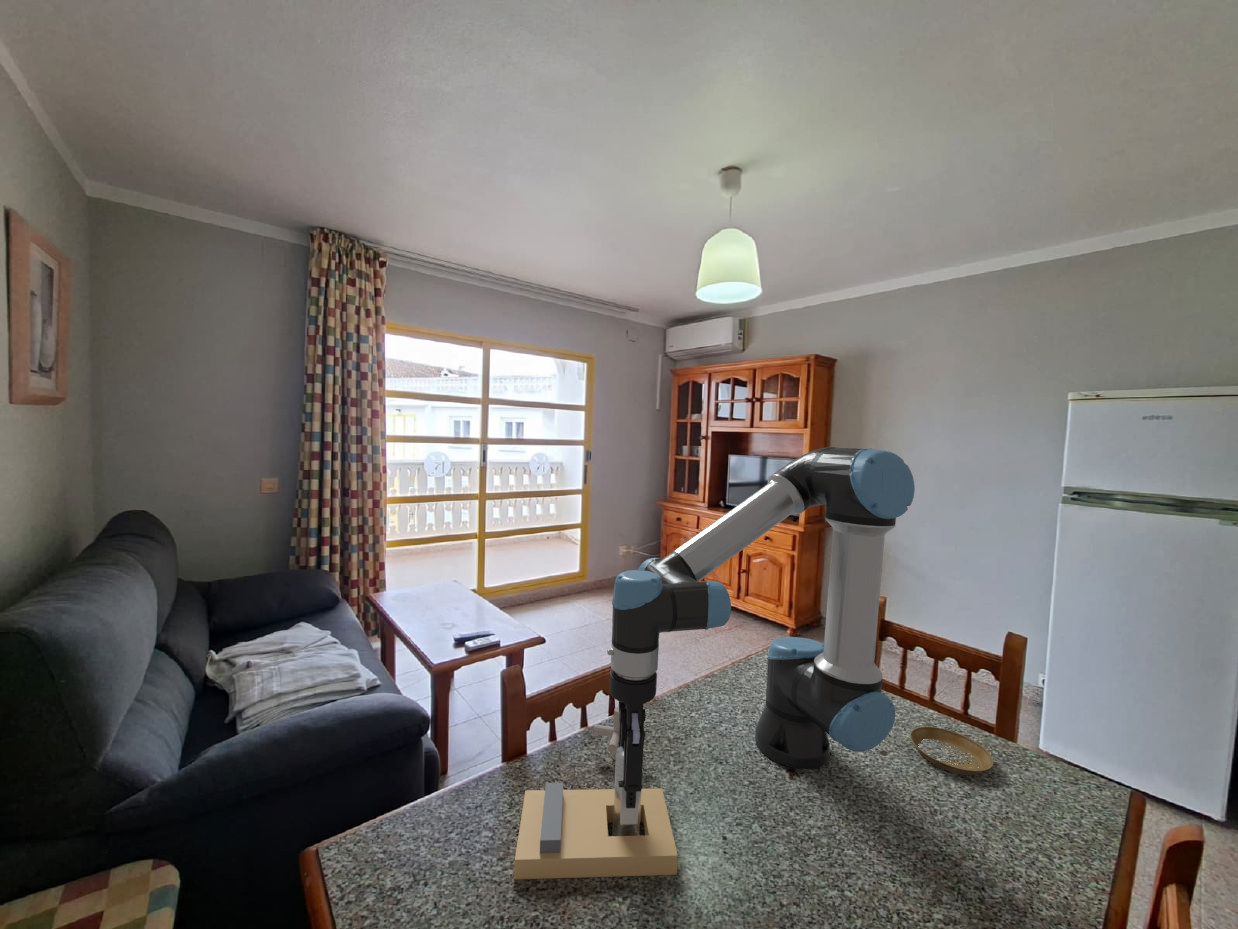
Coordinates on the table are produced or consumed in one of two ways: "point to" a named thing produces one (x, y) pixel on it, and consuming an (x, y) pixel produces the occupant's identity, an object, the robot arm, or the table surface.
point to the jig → (590, 836)
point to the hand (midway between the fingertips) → (627, 810)
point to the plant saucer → (961, 743)
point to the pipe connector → (610, 733)
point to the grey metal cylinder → (617, 828)
